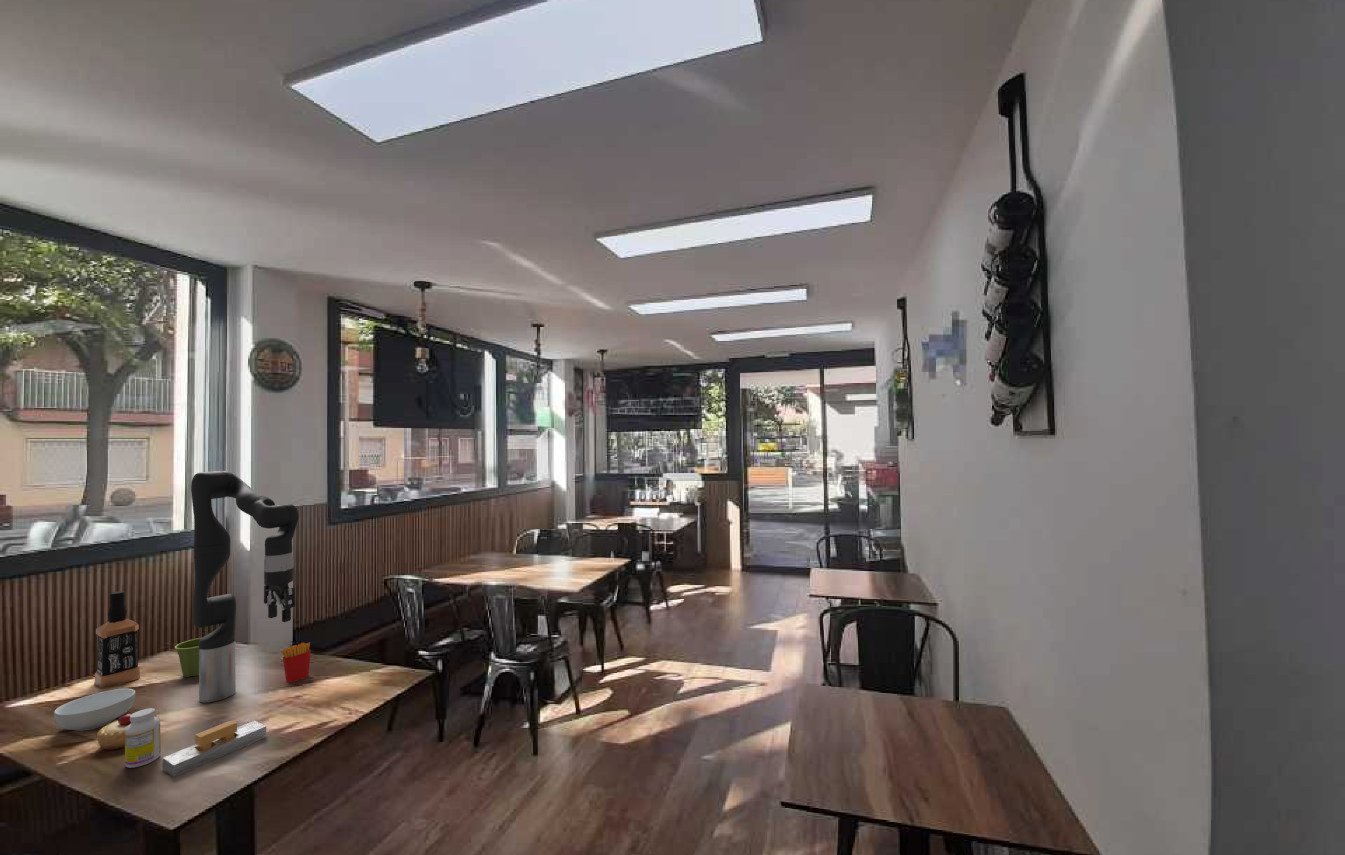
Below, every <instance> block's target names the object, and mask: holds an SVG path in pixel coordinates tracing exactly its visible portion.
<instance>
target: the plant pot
mask: <svg viewBox="0 0 1345 855" xmlns="http://www.w3.org/2000/svg"><path fill="white" fill-rule="evenodd" d="M201 638H202V637H199V638H194V639H193V638H192V639H189V640H185V641H183V642H180V643H178V644H176V645H175V646H174V649H175V650H176V652H177V655H178V658H179V663H180V664H179V665H180V666H181V667H180V669H181V673H182V677H184V678H189V677H192V676H193V677H197V676H199V640H200V639H201Z"/></svg>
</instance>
